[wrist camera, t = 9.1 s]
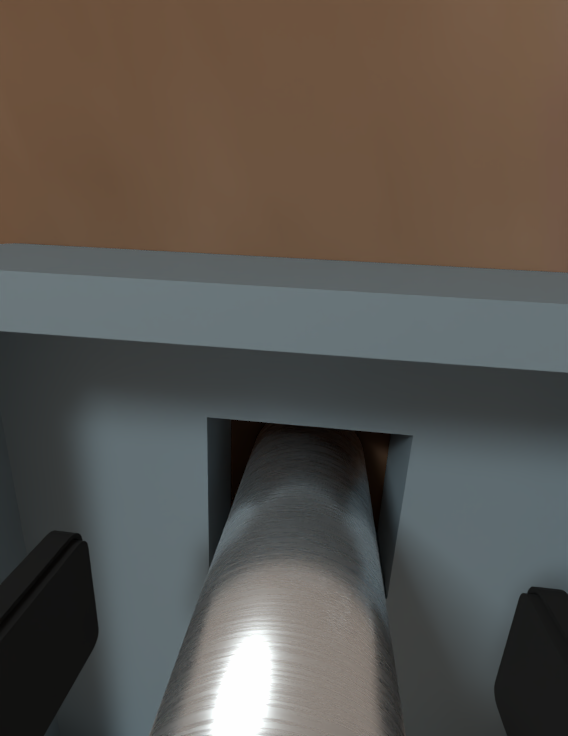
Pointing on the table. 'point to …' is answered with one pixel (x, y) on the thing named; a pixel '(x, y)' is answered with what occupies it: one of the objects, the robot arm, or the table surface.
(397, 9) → the table surface
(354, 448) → the peg
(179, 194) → the table surface
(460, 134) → the table surface
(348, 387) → the open box
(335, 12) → the table surface
